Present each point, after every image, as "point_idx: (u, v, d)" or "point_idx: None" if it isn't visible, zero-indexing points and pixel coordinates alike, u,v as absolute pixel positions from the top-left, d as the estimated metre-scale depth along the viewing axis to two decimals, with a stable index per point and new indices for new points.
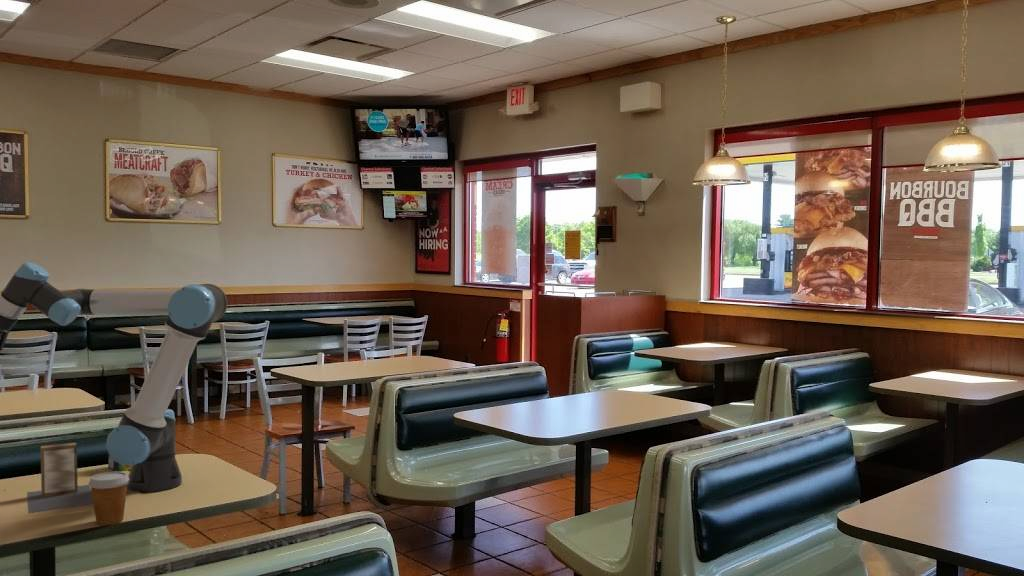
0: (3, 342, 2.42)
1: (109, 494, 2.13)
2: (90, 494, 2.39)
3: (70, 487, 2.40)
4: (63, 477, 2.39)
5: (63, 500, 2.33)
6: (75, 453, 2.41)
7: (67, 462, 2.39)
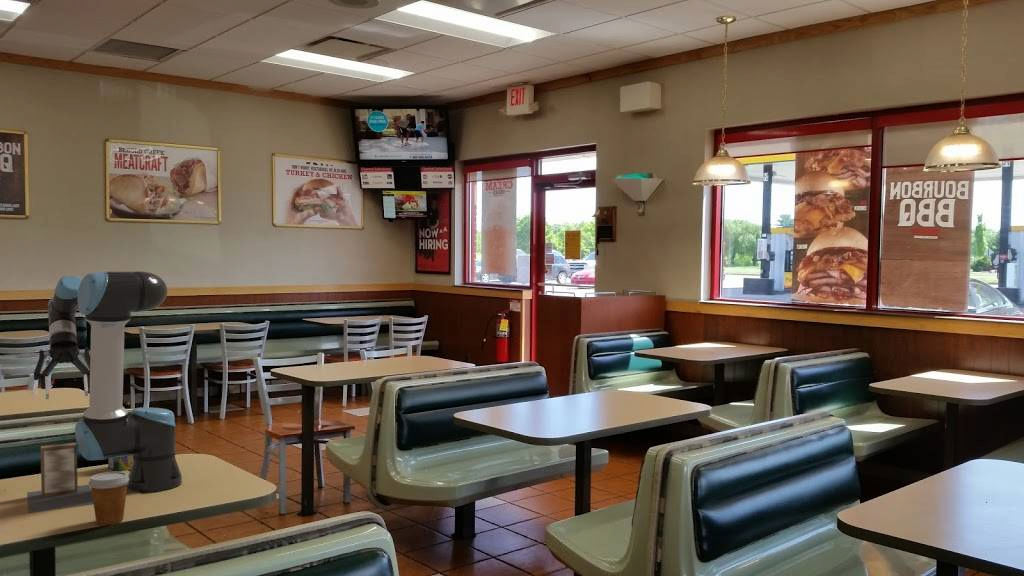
0: None
1: (109, 494, 2.13)
2: (90, 494, 2.39)
3: (70, 487, 2.40)
4: (63, 477, 2.39)
5: (63, 500, 2.33)
6: (75, 453, 2.41)
7: (67, 462, 2.39)
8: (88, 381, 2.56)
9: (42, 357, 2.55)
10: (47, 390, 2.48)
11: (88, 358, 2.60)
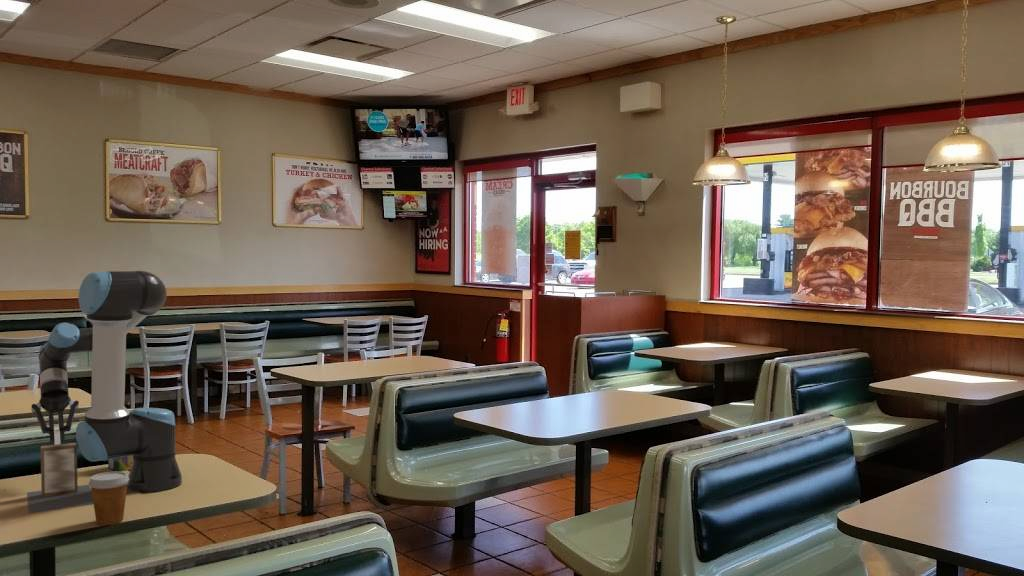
0: (70, 416, 2.52)
1: (109, 494, 2.13)
2: (90, 494, 2.39)
3: (70, 487, 2.40)
4: (63, 477, 2.39)
5: (63, 500, 2.33)
6: (75, 453, 2.41)
7: (67, 462, 2.39)
8: (61, 437, 2.47)
9: (39, 410, 2.50)
10: (56, 444, 2.45)
11: (71, 411, 2.54)
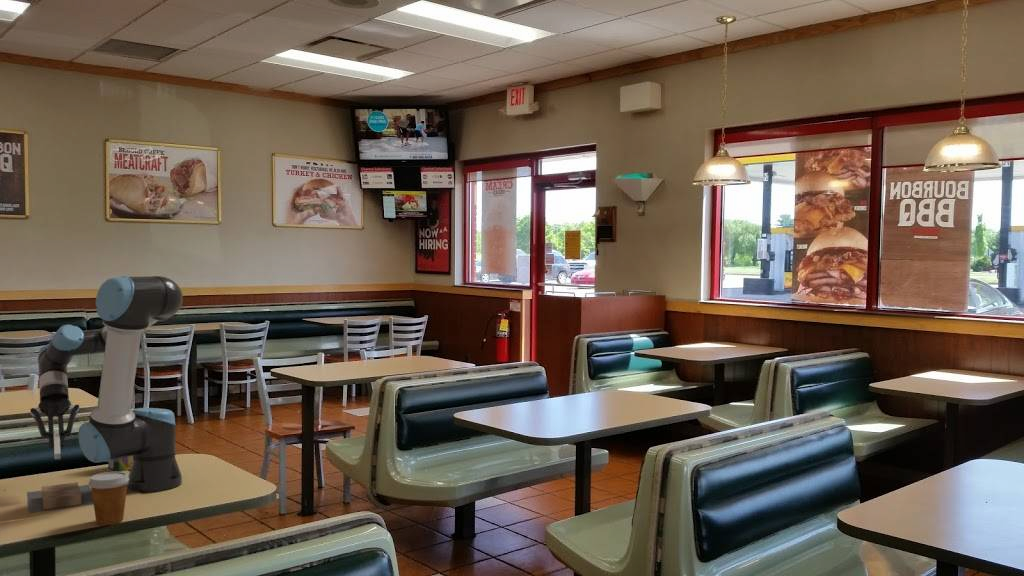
0: (70, 421, 2.44)
1: (109, 494, 2.13)
2: (90, 494, 2.39)
3: None
4: None
5: None
6: None
7: None
8: (61, 442, 2.39)
9: (38, 414, 2.42)
10: (56, 450, 2.37)
11: (71, 415, 2.46)
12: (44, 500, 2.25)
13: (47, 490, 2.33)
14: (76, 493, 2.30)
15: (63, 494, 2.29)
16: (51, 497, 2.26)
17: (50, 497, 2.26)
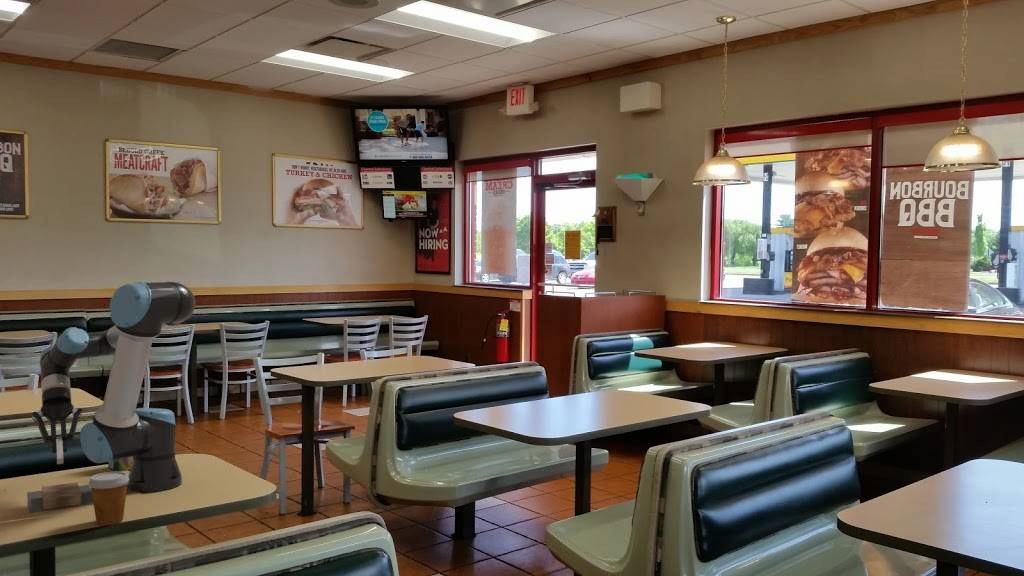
0: (73, 425, 2.40)
1: (109, 494, 2.13)
2: (90, 494, 2.39)
3: None
4: None
5: None
6: None
7: None
8: (64, 447, 2.35)
9: (40, 418, 2.38)
10: (58, 455, 2.33)
11: (74, 419, 2.42)
12: (44, 500, 2.25)
13: (47, 490, 2.33)
14: (76, 493, 2.30)
15: (63, 494, 2.29)
16: (51, 497, 2.26)
17: (50, 497, 2.26)
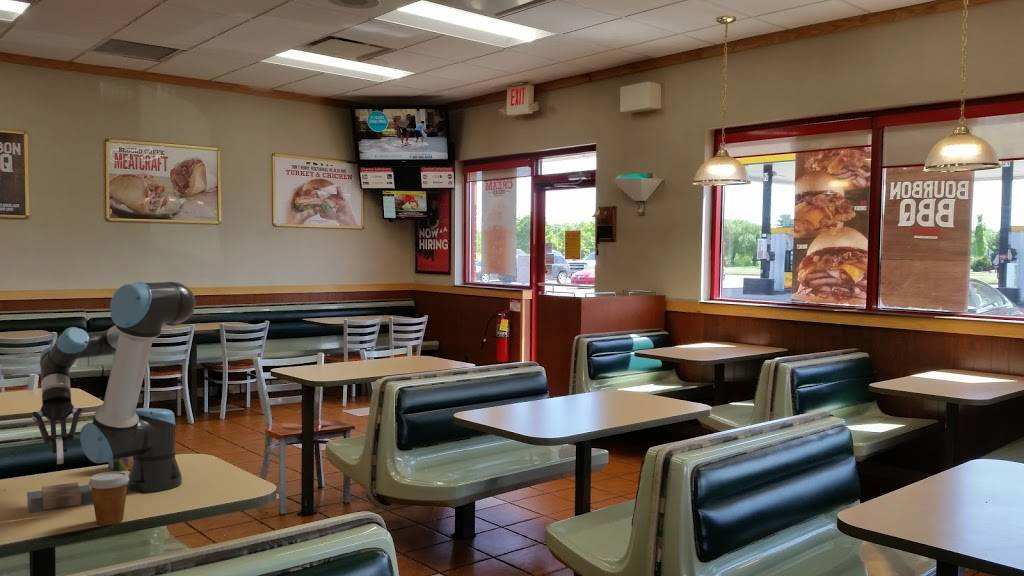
0: (73, 425, 2.40)
1: (109, 494, 2.13)
2: (90, 494, 2.39)
3: None
4: None
5: None
6: None
7: None
8: (64, 447, 2.35)
9: (40, 418, 2.38)
10: (59, 454, 2.33)
11: (74, 419, 2.41)
12: (44, 500, 2.25)
13: (47, 490, 2.33)
14: (76, 493, 2.30)
15: (63, 494, 2.29)
16: (51, 497, 2.26)
17: (50, 497, 2.26)
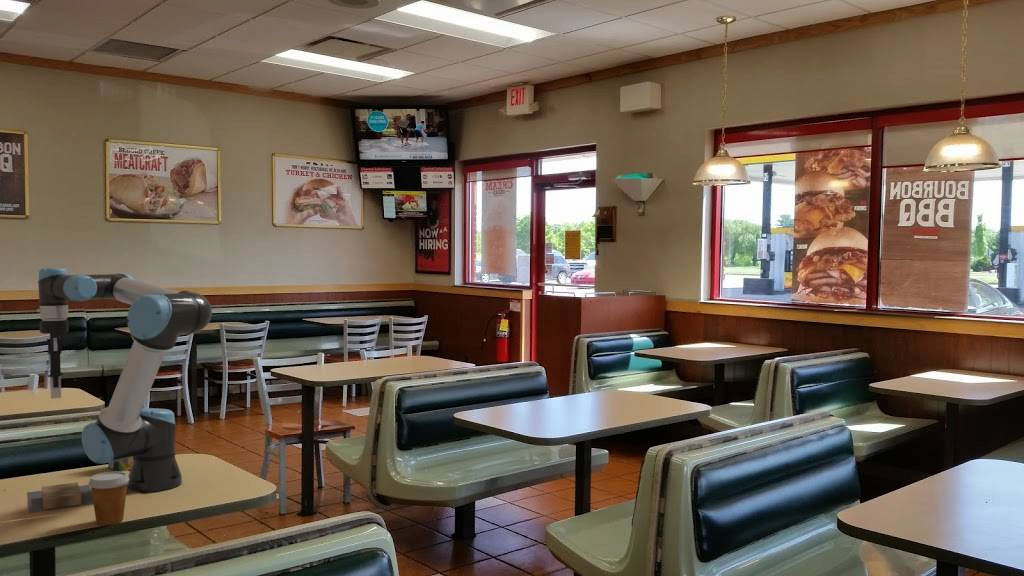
0: None
1: (109, 494, 2.13)
2: (90, 494, 2.39)
3: None
4: None
5: None
6: None
7: None
8: None
9: (60, 352, 2.47)
10: None
11: None
12: (44, 500, 2.25)
13: (47, 490, 2.33)
14: (76, 493, 2.30)
15: (63, 494, 2.29)
16: (51, 497, 2.26)
17: (50, 497, 2.26)
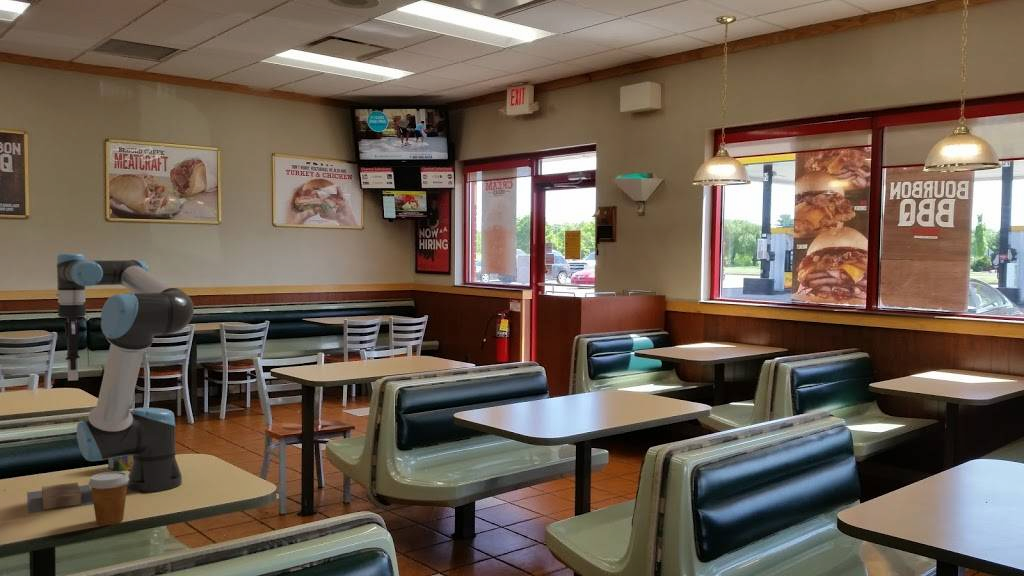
0: None
1: (109, 494, 2.13)
2: (90, 494, 2.39)
3: None
4: None
5: None
6: None
7: None
8: None
9: (77, 335, 2.54)
10: (77, 375, 2.58)
11: None
12: (44, 500, 2.25)
13: (47, 490, 2.33)
14: (76, 493, 2.30)
15: (63, 494, 2.29)
16: (51, 497, 2.26)
17: (50, 497, 2.26)
